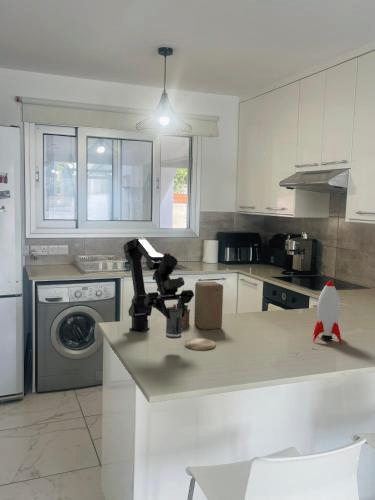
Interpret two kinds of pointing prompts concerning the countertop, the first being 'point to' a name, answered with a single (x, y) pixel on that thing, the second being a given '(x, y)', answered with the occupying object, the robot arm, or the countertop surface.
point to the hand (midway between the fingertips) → (176, 317)
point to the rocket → (328, 313)
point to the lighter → (185, 317)
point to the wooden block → (208, 305)
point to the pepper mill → (174, 322)
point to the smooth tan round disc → (200, 344)
